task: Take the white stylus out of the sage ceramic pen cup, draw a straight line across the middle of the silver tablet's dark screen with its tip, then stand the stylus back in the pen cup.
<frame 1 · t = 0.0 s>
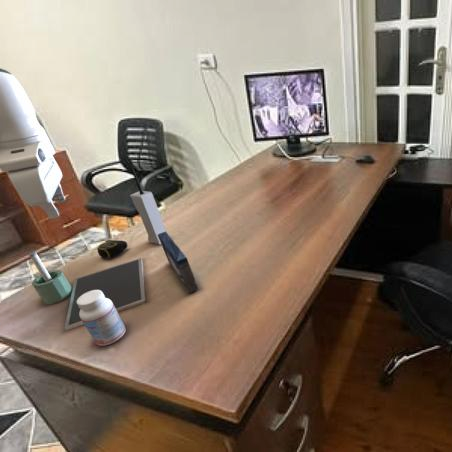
hand: (58, 209, 80), 24 cm above the table, tool pointing down, fingers open, 8 cm apart
pill bottle: (111, 336, 77), on the table
vhs cassette tape: (183, 276, 94), on the table
vintage mobile phone: (159, 241, 112), on the table
tablet: (108, 291, 91), on the table
stylus: (57, 294, 91), resting on pen cup
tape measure: (114, 253, 108), on the table
pen cup: (58, 295, 91), on the table
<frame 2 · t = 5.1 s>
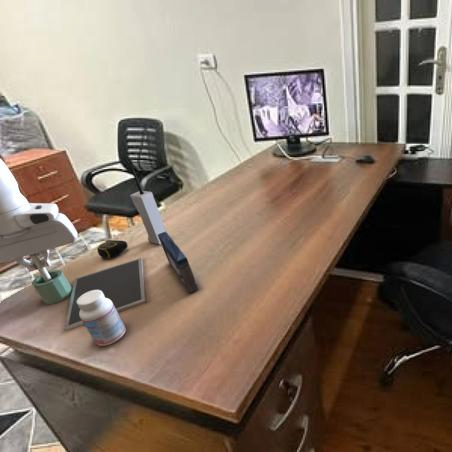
hand: (40, 267, 87), 9 cm above the table, tool pointing down, fingers closed on stylus, 1 cm apart
stylus: (57, 294, 91), point 1 cm above the table, touching gripper, pen cup
everything else where it was.
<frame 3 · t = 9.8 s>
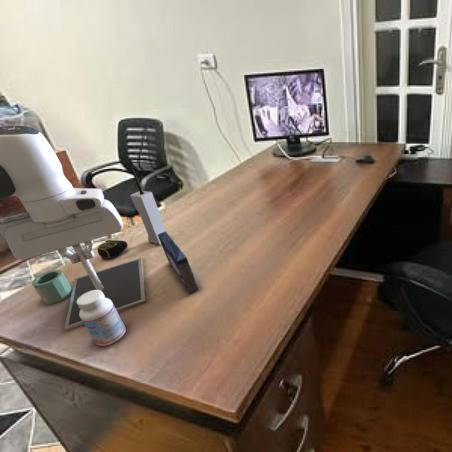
hand: (84, 259, 79), 14 cm above the table, tool pointing down, fingers closed on stylus
stylus: (100, 288, 83), point 5 cm above the table, touching gripper
everything else where it was.
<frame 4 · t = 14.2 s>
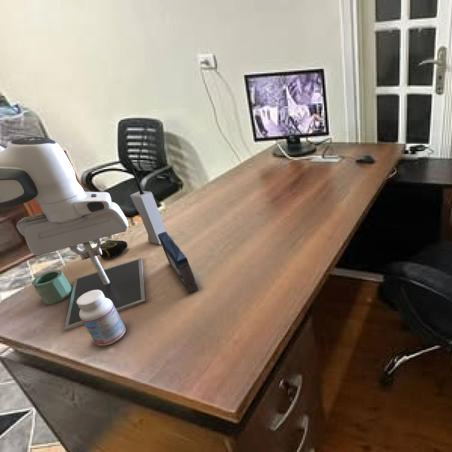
hand: (92, 256, 88), 10 cm above the table, tool pointing down, fingers closed on stylus, 1 cm apart
stylus: (106, 283, 92), point 2 cm above the table, touching gripper
everything else where it was.
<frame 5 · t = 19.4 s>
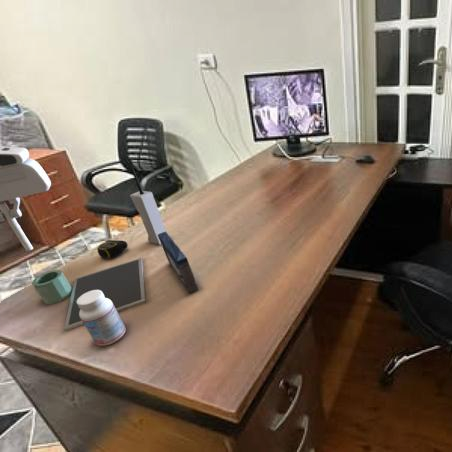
hand: (10, 218, 80), 23 cm above the table, tool pointing down, fingers closed on stylus
stylus: (29, 249, 84), point 14 cm above the table, touching gripper
everything else where it was.
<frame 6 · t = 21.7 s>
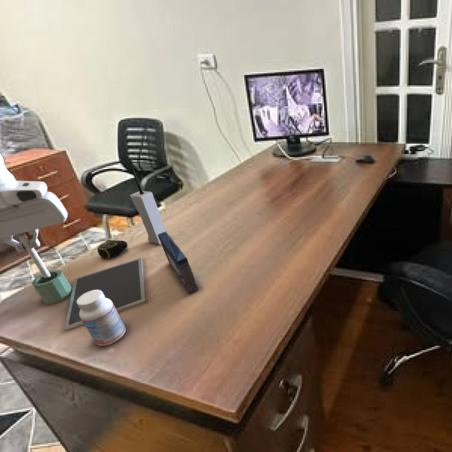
hand: (29, 248, 84), 15 cm above the table, tool pointing down, fingers closed on stylus
stylus: (47, 276, 89), point 6 cm above the table, touching gripper
everything else where it was.
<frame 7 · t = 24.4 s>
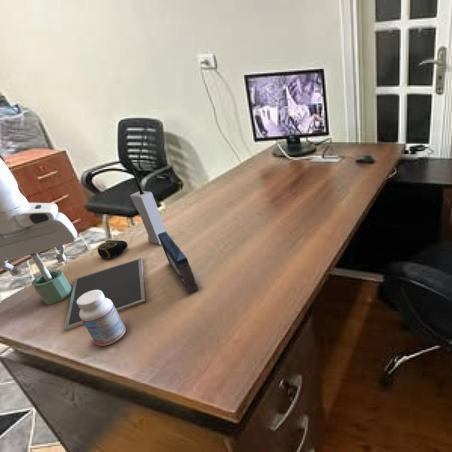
hand: (40, 267, 87), 9 cm above the table, tool pointing down, fingers open, 8 cm apart
stylus: (58, 293, 91), resting on pen cup
everything else where it was.
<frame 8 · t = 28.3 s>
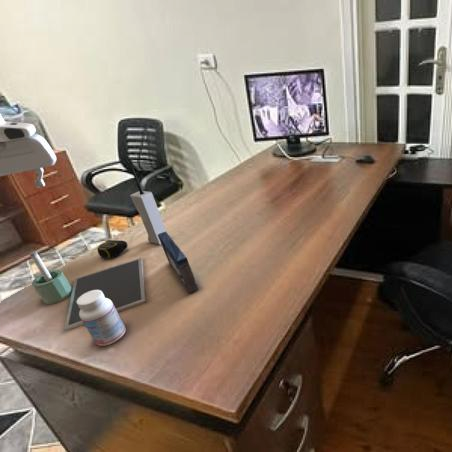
hand: (17, 191, 84), 27 cm above the table, tool pointing down, fingers open, 8 cm apart
nothing on the table moved.
at the end: stylus 0.1 cm off-centre in the pen cup, point 0.5 cm above the pen cup's base; stylus tilted 0°; the gripper is holding nothing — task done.
